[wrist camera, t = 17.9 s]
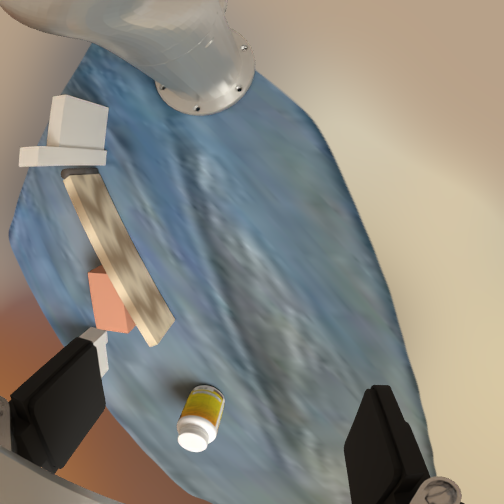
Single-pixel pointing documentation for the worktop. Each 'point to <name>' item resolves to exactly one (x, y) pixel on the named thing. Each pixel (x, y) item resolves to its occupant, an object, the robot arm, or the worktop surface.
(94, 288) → the salmon orange block
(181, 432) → the supplement bottle
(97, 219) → the gate door
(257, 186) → the worktop surface
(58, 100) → the wall frame
